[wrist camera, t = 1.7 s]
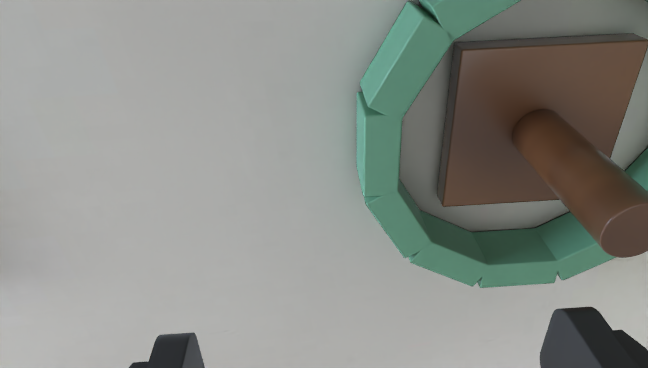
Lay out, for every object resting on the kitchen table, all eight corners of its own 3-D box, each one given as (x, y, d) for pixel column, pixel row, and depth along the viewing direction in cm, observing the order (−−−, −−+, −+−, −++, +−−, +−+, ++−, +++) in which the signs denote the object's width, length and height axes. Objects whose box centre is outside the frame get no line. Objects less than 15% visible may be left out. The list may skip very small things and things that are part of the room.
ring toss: (453, 42, 18) (542, 127, 11) (634, 32, 18) (820, 111, 12) (436, 194, 21) (495, 323, 15) (585, 185, 22) (706, 309, 15)
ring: (356, -64, 16) (366, -57, 14) (775, -83, 16) (844, -79, 14) (356, 260, 23) (362, 296, 21) (638, 242, 24) (669, 275, 22)
